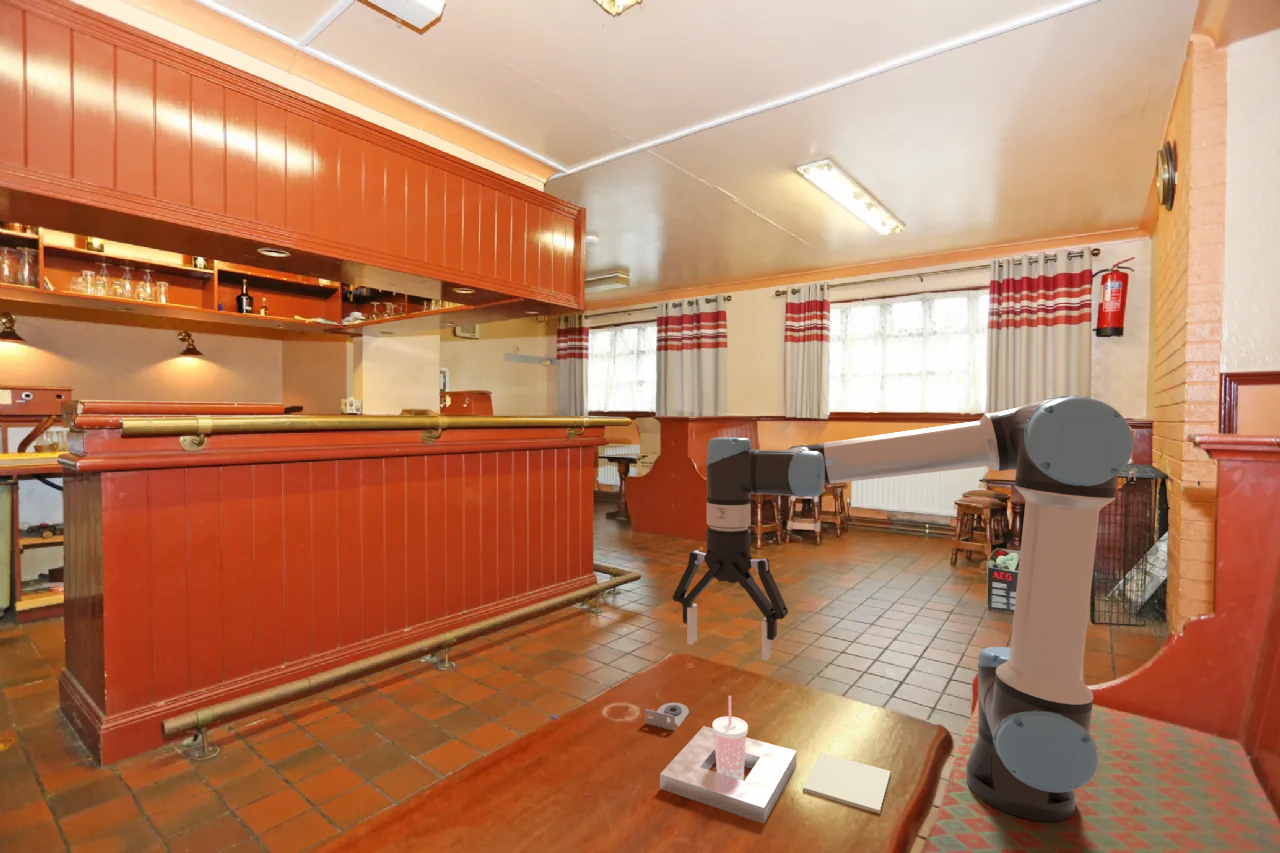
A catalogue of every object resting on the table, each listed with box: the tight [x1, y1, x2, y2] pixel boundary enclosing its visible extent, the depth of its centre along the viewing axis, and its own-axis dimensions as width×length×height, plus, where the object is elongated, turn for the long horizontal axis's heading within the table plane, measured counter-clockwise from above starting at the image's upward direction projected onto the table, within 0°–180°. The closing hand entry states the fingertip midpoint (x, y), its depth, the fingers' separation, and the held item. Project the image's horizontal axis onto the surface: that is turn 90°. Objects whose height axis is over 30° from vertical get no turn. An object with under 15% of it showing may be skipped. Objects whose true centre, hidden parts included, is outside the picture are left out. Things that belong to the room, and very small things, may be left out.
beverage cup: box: [711, 695, 749, 781], centre depth 104 cm, size 6×6×14 cm
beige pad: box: [802, 752, 891, 814], centre depth 102 cm, size 12×12×1 cm
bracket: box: [644, 702, 690, 732], centre depth 126 cm, size 7×10×4 cm, turn 153°
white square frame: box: [659, 725, 798, 825], centre depth 104 cm, size 18×18×2 cm
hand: (728, 649), depth 104 cm, fingers open, 13 cm apart
